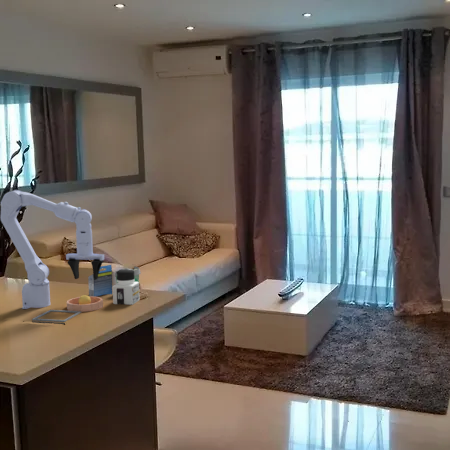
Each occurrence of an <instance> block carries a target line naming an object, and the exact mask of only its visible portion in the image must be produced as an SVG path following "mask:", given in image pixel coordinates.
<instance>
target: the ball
mask: <svg viewBox="0 0 450 450" xmlns="http://www.w3.org/2000/svg"><path fill="white" fill-rule="evenodd" d="M79 297H80V298H79V304H80V305H82V304H90V303H91V299H90V297H89V295H87V294H82V295H81V296H79Z"/></svg>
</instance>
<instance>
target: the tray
mask: <svg viewBox="0 0 450 450" xmlns="http://www.w3.org/2000/svg"><path fill="white" fill-rule="evenodd" d="M51 312H54V313H74V314H72V315H70V316H68V317H67V318H65V319H50V318H41V317H43V316H45V315H47V314H49V313H51ZM80 314H82V312H81V311H69V310H61V309H49V310H47V311H45V312H43V313H41V314H39V315H37V316H36V317H33V318H31V320H32V321H31V322H32V323H37V324H52V323H54V325H56V324H57V325H66V324H65V323H66V322H67V321H69V320H71V319H72V318H74V317H76V316H77V315H80Z"/></svg>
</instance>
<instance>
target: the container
mask: <svg viewBox="0 0 450 450" xmlns="http://www.w3.org/2000/svg"><path fill="white" fill-rule="evenodd" d="M132 269H133V268H121V269H117V270H116V271H117V281H116V283H115V284H114V285H113V284H112V304H113V305H135V304H136V303H137V302H139V301H140V299H141V298H140V281H139V282H134V281H135V277H134V270H132ZM117 282H118V283H117Z"/></svg>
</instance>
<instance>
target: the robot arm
mask: <svg viewBox="0 0 450 450" xmlns="http://www.w3.org/2000/svg"><path fill="white" fill-rule="evenodd" d="M28 206H34V207H36V208H40V209H43V210H47V211H49V212H52V213H53V214H54V215H55V217H56V218H58V219H61V220H65V221H67V222H70V223H75V225H76V226H75V227H76V228H75V229H76V230H75V237H76V253H67V254H65V258H66V259H65V260H68V261H67V264H68V266H69V267H70V269H71V271H72V274H73V278H74V280H78V279H79V278H80V261H81V260H82V261H83V260H85V261H87V260H88V261H91V262H90V263H91V266H92V274H93V278H94V280H96V279H98V274H99V271H101V269H100V267H101V266H103V265H102V264H103V262H104V260H105V254H104V253H103V254H101V253H94V248H93V229H92V226H93V225H92V223H91V222H92V219H93V215H92V213H91V212H90V211H89V210H88V209H85V208H82V207H80V206H78V207H77V206H73V205H71V204H69V202H67V201H64V202H63V201H60V202H58V203H55V202H53V201H51V200H48V199H45V198H43V197H41V196H38V195H37V194H33V193H30V192H28V191H22V190H20V189H19V190H18V189H14V190H12V191H8V192H6V193H5V194H4V195H3V196H2V198H1V201H0V222H1V224H2V225H3V227H4V228H5V230H6V232H7V234H8V235H9V238H10V240H11V242H12V243H13V245H14V246H15V249H16V250H17V252H18V253H19V256H20V258H21V259H22V262H23V263H24V269H25V272H26V273H27V277H26V278H27V280H28V283H27V282H26V283H24V284H23V286H22V289H21V296H22V297H21V299H22V300H21V302H22V307H21V309H22V310H28V309H30V308H33V309H34V308H35V309H36V308H41V309H42V308H45V307H46V308H47V307H49V306H51V293H50V280H49V279H48V277H49V275H50V268H49V267H48V266H47V264H45V263H43V261H42V259H41V258H40V257H38V255H37V254H36V252H35V250H34V248H33V246H32V245H31V243H30V240H29V239H28V237H27V235H26V233H25V231H24V230H23V228H22V227H21V225H20V223H19V221H18V218H17V216H18V215H19V213H20V210H21V209H22V207H28Z"/></svg>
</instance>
